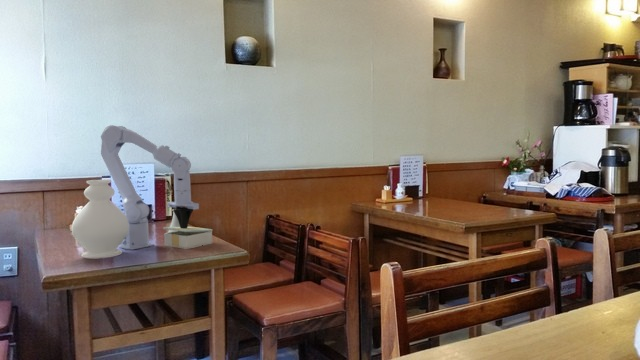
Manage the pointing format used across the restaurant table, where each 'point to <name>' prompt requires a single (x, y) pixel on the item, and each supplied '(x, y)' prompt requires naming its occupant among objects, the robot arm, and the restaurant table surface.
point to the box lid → (187, 229)
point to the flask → (174, 222)
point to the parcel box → (187, 239)
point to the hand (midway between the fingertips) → (183, 228)
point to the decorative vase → (100, 222)
